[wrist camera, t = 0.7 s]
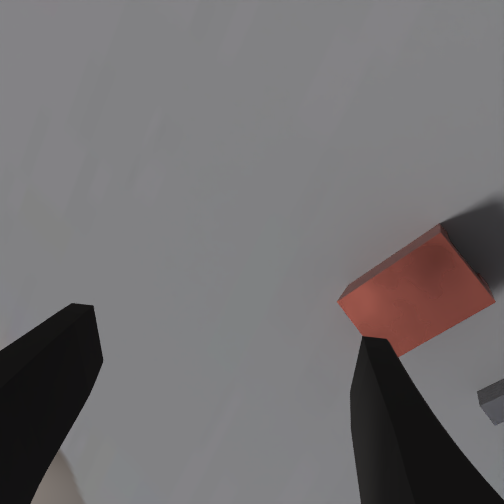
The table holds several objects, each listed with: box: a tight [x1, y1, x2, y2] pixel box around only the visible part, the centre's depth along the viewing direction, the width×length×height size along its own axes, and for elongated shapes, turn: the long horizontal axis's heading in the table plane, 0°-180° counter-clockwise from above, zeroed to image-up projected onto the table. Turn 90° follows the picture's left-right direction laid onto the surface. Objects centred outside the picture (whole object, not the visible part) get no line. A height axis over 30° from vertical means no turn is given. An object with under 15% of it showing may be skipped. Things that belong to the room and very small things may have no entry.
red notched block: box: [337, 223, 496, 357], centre depth 27 cm, size 5×7×4 cm, turn 130°
